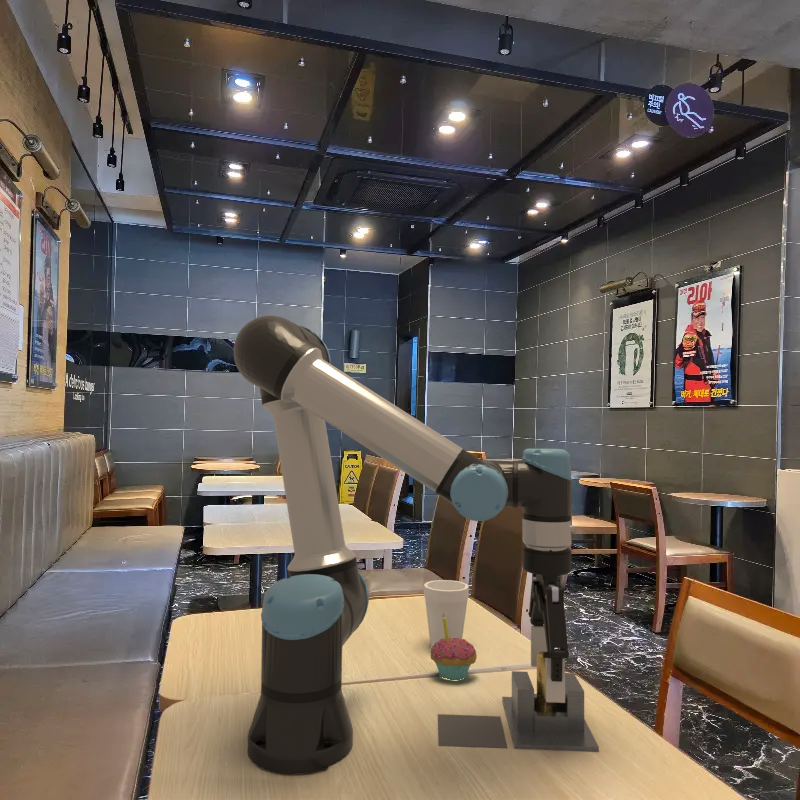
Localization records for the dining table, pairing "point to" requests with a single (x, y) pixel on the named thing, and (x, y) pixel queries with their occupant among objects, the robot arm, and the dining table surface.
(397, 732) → the dining table surface
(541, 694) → the peg
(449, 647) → the cupcake
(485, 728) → the mat
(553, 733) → the bracket
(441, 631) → the foam cup
